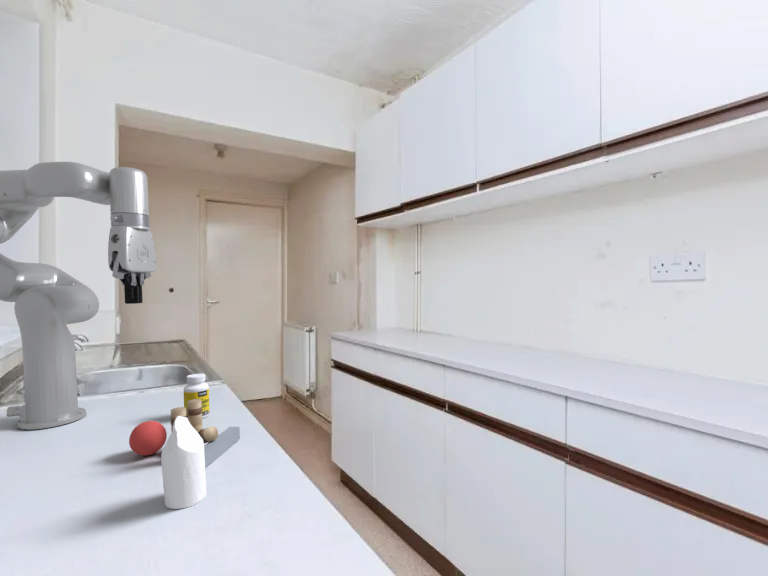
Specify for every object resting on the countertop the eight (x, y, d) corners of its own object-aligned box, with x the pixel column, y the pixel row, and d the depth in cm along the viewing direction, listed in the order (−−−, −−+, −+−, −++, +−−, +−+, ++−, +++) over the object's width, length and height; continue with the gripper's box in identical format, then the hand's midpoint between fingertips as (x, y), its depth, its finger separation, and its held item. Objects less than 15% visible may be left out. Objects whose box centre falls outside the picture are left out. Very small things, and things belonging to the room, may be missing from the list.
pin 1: (170, 463, 71) (168, 412, 71) (174, 457, 74) (172, 407, 73) (186, 461, 72) (184, 410, 72) (189, 455, 74) (187, 406, 74)
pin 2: (187, 451, 76) (185, 403, 76) (190, 446, 79) (188, 399, 78) (202, 449, 77) (200, 402, 77) (204, 444, 79) (202, 398, 79)
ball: (147, 440, 71) (134, 467, 72) (178, 431, 76) (165, 456, 78) (129, 418, 73) (117, 444, 75) (160, 411, 79) (149, 435, 80)
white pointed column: (193, 422, 56) (151, 424, 56) (197, 508, 57) (155, 511, 56) (209, 408, 62) (170, 410, 62) (212, 486, 63) (174, 489, 62)
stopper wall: (189, 472, 68) (188, 457, 68) (230, 439, 82) (229, 426, 82) (200, 472, 68) (199, 457, 67) (239, 439, 81) (239, 426, 81)
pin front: (164, 447, 74) (207, 432, 73) (170, 437, 76) (212, 422, 75) (171, 457, 75) (214, 442, 74) (178, 447, 77) (219, 432, 76)
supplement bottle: (200, 421, 93) (198, 378, 93) (179, 420, 94) (177, 377, 94) (214, 413, 98) (213, 372, 98) (194, 412, 99) (193, 372, 99)
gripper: (121, 218, 86) (124, 305, 87) (166, 226, 101) (169, 301, 101) (88, 219, 87) (92, 306, 87) (138, 228, 102) (141, 301, 102)
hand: (133, 303), depth 94 cm, fingers closed
